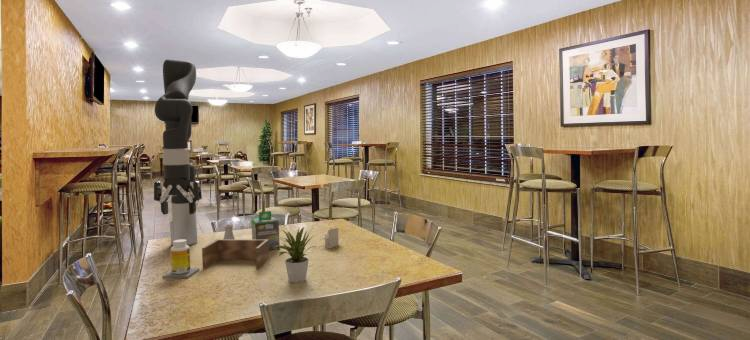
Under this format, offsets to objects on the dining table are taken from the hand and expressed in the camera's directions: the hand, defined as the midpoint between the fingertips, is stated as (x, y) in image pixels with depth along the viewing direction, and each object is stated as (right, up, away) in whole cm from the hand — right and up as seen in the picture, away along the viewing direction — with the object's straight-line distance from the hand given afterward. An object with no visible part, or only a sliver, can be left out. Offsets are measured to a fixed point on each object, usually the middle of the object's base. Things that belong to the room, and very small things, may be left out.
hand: (178, 214), depth 137 cm
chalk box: (+19, -17, +33) cm, 42 cm away
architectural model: (+45, -17, +35) cm, 59 cm away
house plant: (+38, -20, -4) cm, 43 cm away
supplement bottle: (0, -19, +2) cm, 19 cm away
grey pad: (0, -19, +2) cm, 19 cm away
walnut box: (+15, -18, +12) cm, 26 cm away
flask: (+6, -18, +29) cm, 35 cm away
